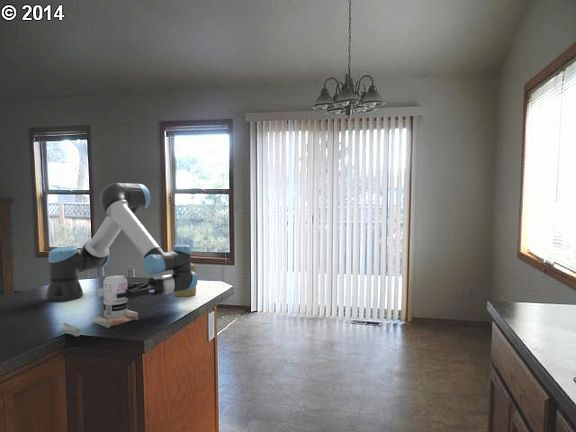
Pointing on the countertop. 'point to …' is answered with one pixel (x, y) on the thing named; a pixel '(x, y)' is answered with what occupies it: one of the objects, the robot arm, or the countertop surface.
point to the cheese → (191, 291)
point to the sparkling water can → (118, 306)
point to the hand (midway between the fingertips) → (102, 294)
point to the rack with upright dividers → (101, 322)
